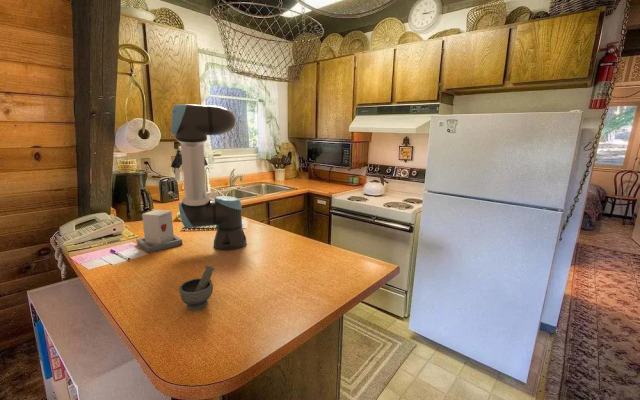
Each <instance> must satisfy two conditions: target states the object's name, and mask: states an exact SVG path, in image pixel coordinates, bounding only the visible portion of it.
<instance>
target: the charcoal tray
mask: <svg viewBox="0 0 640 400" xmlns="http://www.w3.org/2000/svg"><path fill="white" fill-rule="evenodd" d="M136 244H137V246H139V247H140V248H141V249H142V250H144V252H146V253H148V254H150V253H155V252H158V251H162V250H167V249H171V248H174V247H178V246H182V245H183V239H182V238H180V237H178V236H177V235H175V234H174V240H173V241H170V242H165V243H161V244H157V245H148V244H147V243H145V237H141V238H137V239H136Z"/></svg>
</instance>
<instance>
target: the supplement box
mask: <svg viewBox="0 0 640 400" xmlns="http://www.w3.org/2000/svg"><path fill="white" fill-rule="evenodd" d="M141 216H142V224H143V234H144V238H145V243H147V244H148V245H157V244H161V243H165V242H170V241H173V240H174V235H175V234H174V224H173V214H172V210H168V209H167V210H164V209H154V210H151V211H150V210H149V211H147V212H145V213H144V212H143V213H142V215H141Z"/></svg>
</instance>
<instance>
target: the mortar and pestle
mask: <svg viewBox="0 0 640 400" xmlns="http://www.w3.org/2000/svg"><path fill="white" fill-rule="evenodd" d="M204 267H205V270H204V272H203V273H202V276H201V277H198V278H196V277H195V278H191V279H189V280H186V281H184V282H182V283H181V284H180V285H179V286H178V290H179V295H180V299H181V301H182V302H183V303H184V304H186V308H187V310H189V311H191V312H195V311H197V312H198V311H201V310H203V309H205V308H206V307H207V306H208V305H209V302H208V300H209V299H210V297H212V295H213V292H214V291H213V290H214V284H213V282H212V279H211V277H212V274H213V272H214V271H215V267H214V266H213V265H209V264H207V265H205V266H204Z"/></svg>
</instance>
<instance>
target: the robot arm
mask: <svg viewBox="0 0 640 400" xmlns="http://www.w3.org/2000/svg"><path fill="white" fill-rule="evenodd" d="M235 125H236V117H235V115H234V113H233V112H232V111H231V110H230V109H227V108H225V107H222V106H218V105H209V104H207V105H205V104H191V103H189V104H188V103H183V104H181V103H176V104H174V105H173V106H172V109H171V125H170V126H171V127H170V128H171V130H170V134H171V135H172V136H175V140H176V141H177V142H178V143H180V149H177V151H176V154H175V156H174V159H173V160H172V162H171V165H170V168H173V175H174V181H177V182H180V176H181V166H182V174H183V175H182V176H183V183H184V194H185V195H184V196H183V197H182V199H181V202H179V203H178V209H179V216H180V220H181V224H182V225H183V226H184V228H187V229H188V228H189V229H190V228H200V227H201V228H202V227H211V226H213V227H214V226H216V233H215V235H214V239H213V246H214V248H215V249H217V250H221V251H231V250H237V249H240V248H243V247H245V246H246V245H247V237H246V235H245V232H244V228H243V217H242V216H243V214H242V210H243V209H242V201H241V199H240V198H237V197H234V196H229V195H219V196H215V198H214V199H213V200H211V197H210V195H208V194H207V183H206V169H205V166H208V164H209V163H208V161H207V159H206V157H205V151H204V150H205V147H204V143H205V142H206V141H208V136H220V135H223V134H226V133H229V132H230V131H231V130H233V129H234V127H235Z"/></svg>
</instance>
